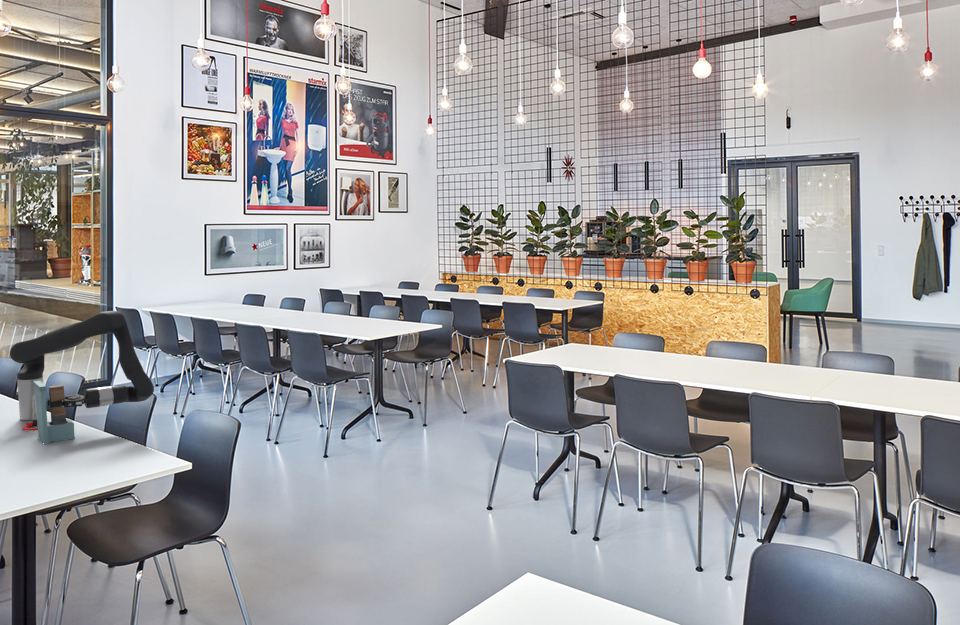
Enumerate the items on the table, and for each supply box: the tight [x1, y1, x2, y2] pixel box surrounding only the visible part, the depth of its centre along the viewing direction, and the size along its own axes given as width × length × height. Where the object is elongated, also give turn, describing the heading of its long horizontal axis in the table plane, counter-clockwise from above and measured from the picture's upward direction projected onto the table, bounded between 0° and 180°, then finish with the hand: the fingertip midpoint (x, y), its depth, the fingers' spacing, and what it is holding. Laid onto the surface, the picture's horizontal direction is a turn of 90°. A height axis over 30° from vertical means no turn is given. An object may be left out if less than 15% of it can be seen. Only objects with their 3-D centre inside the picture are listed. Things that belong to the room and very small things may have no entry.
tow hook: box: [22, 395, 38, 431], centre depth 290 cm, size 8×13×9 cm
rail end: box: [48, 384, 67, 425], centre depth 274 cm, size 4×4×16 cm
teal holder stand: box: [33, 381, 76, 445], centre depth 274 cm, size 14×11×22 cm
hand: (48, 403), depth 272 cm, fingers closed on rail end, 3 cm apart
